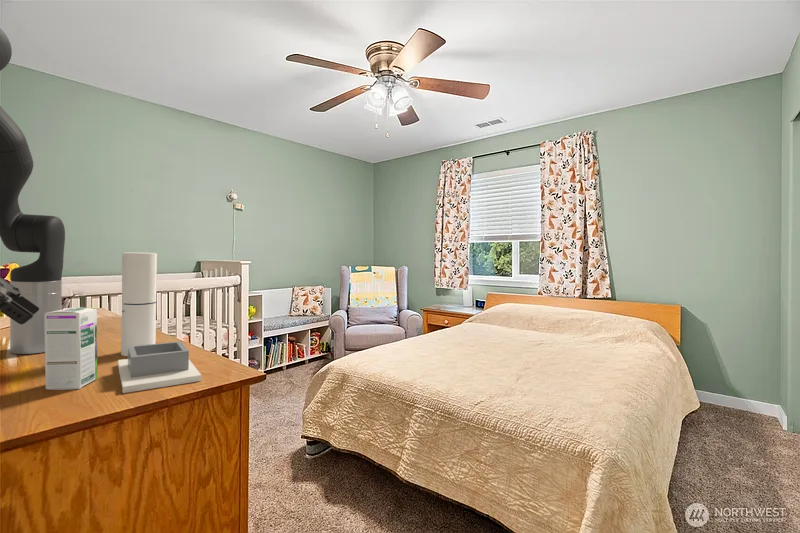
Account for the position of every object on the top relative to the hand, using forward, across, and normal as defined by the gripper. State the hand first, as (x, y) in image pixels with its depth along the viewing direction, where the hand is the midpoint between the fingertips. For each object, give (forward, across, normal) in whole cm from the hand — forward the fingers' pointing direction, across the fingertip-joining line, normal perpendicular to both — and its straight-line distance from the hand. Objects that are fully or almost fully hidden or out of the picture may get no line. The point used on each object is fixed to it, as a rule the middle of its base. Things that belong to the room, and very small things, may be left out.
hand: (31, 316), depth 70 cm
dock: (+23, 0, -4) cm, 24 cm away
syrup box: (+14, 0, +6) cm, 15 cm away
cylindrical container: (+22, +20, -3) cm, 30 cm away
